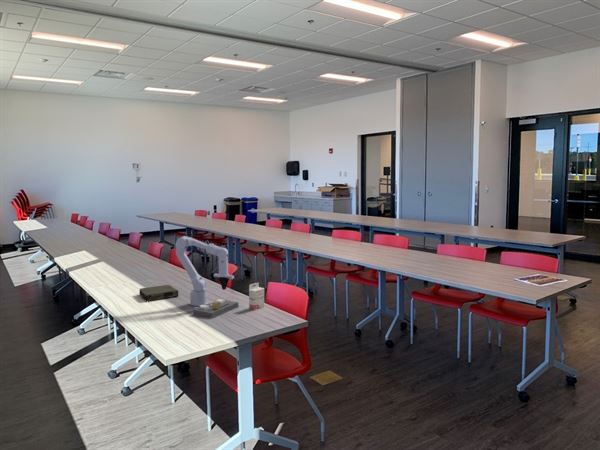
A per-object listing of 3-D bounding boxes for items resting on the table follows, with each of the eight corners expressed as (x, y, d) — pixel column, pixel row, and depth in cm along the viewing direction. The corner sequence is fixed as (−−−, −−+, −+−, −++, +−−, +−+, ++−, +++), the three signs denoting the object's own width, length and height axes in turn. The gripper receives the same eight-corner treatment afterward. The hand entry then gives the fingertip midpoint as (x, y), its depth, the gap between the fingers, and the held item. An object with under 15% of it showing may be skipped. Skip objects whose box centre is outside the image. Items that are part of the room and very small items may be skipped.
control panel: (193, 314, 259) (193, 309, 259) (220, 304, 280) (220, 299, 280) (212, 318, 253) (212, 312, 252) (238, 307, 273) (238, 302, 273)
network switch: (147, 303, 287) (147, 295, 286) (135, 296, 305) (134, 289, 304) (182, 296, 301) (181, 289, 301) (168, 290, 319) (167, 283, 319)
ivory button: (215, 304, 273) (215, 300, 273) (219, 302, 276) (219, 299, 276) (220, 305, 271) (220, 301, 271) (224, 303, 274) (224, 299, 274)
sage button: (207, 308, 267) (207, 304, 267) (212, 306, 270) (212, 303, 270) (212, 309, 265) (212, 305, 265) (217, 307, 268) (217, 304, 268)
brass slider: (212, 308, 259) (212, 302, 259) (215, 307, 262) (215, 301, 261) (216, 309, 258) (216, 303, 257) (219, 307, 260) (219, 301, 260)
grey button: (199, 310, 261) (199, 306, 261) (204, 308, 264) (204, 304, 264) (204, 311, 259) (204, 307, 259) (209, 309, 262) (209, 305, 262)
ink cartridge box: (254, 310, 266) (254, 285, 265) (249, 308, 270) (248, 284, 268) (265, 306, 273) (264, 283, 271) (259, 305, 276) (258, 282, 275)
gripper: (210, 267, 278) (211, 289, 280) (228, 269, 271) (229, 292, 273) (217, 265, 284) (218, 286, 286) (235, 267, 277) (236, 289, 279)
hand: (224, 289), depth 280 cm, fingers closed
